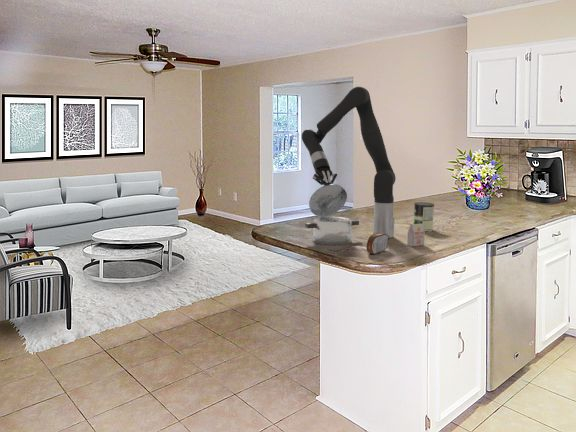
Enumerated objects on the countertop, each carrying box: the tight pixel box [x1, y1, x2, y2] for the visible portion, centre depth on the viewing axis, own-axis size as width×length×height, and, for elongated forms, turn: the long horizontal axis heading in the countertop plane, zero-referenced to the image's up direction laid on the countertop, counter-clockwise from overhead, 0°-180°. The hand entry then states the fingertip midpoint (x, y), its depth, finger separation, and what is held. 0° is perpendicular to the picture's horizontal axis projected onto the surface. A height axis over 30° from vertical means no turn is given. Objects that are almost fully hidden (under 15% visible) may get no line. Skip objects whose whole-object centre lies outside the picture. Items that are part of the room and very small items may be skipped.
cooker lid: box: [308, 183, 348, 217], centre depth 246 cm, size 19×19×4 cm
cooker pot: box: [304, 216, 360, 246], centre depth 243 cm, size 27×18×10 cm, turn 112°
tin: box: [366, 232, 389, 255], centre depth 221 cm, size 15×3×8 cm, turn 141°
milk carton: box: [406, 224, 426, 247], centre depth 235 cm, size 4×7×10 cm, turn 115°
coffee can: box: [412, 201, 435, 232], centre depth 271 cm, size 10×10×14 cm
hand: (330, 190), depth 243 cm, fingers closed
